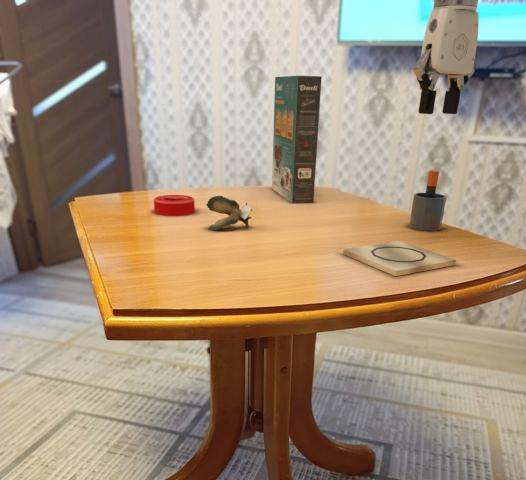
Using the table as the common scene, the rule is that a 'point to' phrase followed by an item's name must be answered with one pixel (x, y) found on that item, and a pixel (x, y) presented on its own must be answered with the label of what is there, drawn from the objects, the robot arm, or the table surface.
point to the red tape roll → (174, 205)
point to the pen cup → (427, 212)
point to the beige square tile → (399, 258)
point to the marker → (432, 184)
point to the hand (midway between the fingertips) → (437, 112)
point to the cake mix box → (295, 136)
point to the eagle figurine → (228, 212)
